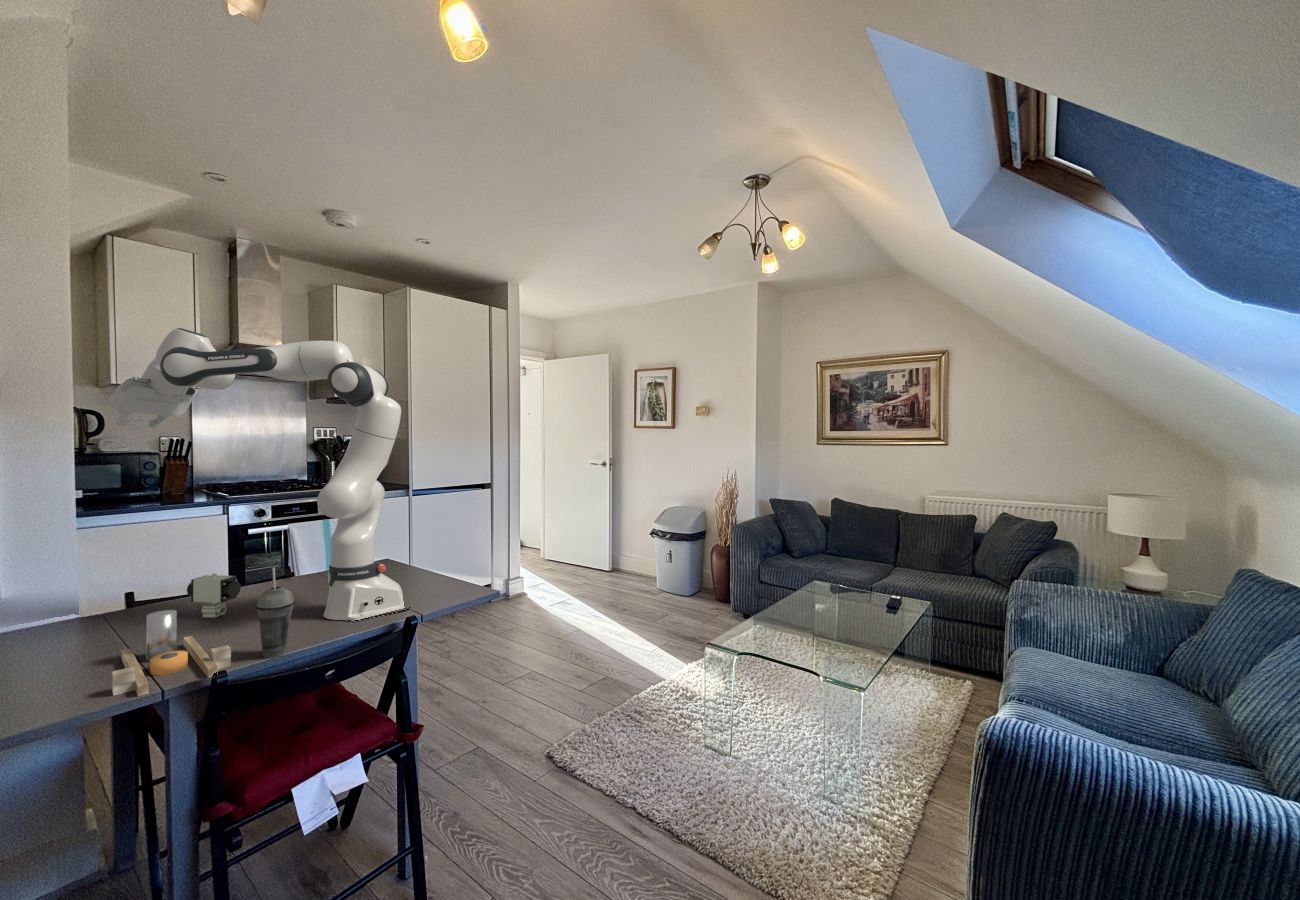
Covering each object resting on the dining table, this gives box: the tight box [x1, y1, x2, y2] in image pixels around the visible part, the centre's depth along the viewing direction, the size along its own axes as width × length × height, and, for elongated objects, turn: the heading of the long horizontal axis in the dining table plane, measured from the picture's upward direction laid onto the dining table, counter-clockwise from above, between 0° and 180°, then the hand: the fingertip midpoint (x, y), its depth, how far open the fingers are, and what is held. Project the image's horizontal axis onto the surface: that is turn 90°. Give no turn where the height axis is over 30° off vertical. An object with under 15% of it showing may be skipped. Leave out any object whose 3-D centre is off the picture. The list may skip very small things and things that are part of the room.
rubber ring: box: [149, 650, 189, 677], centre depth 112 cm, size 6×6×3 cm
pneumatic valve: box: [186, 573, 242, 619], centre depth 146 cm, size 6×12×12 cm, turn 89°
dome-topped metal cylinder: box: [145, 609, 178, 663], centre depth 118 cm, size 5×5×10 cm
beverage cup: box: [255, 567, 295, 659], centre depth 121 cm, size 7×7×20 cm
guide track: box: [111, 635, 232, 697], centre depth 113 cm, size 18×26×4 cm
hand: (137, 426), depth 143 cm, fingers open, 8 cm apart
